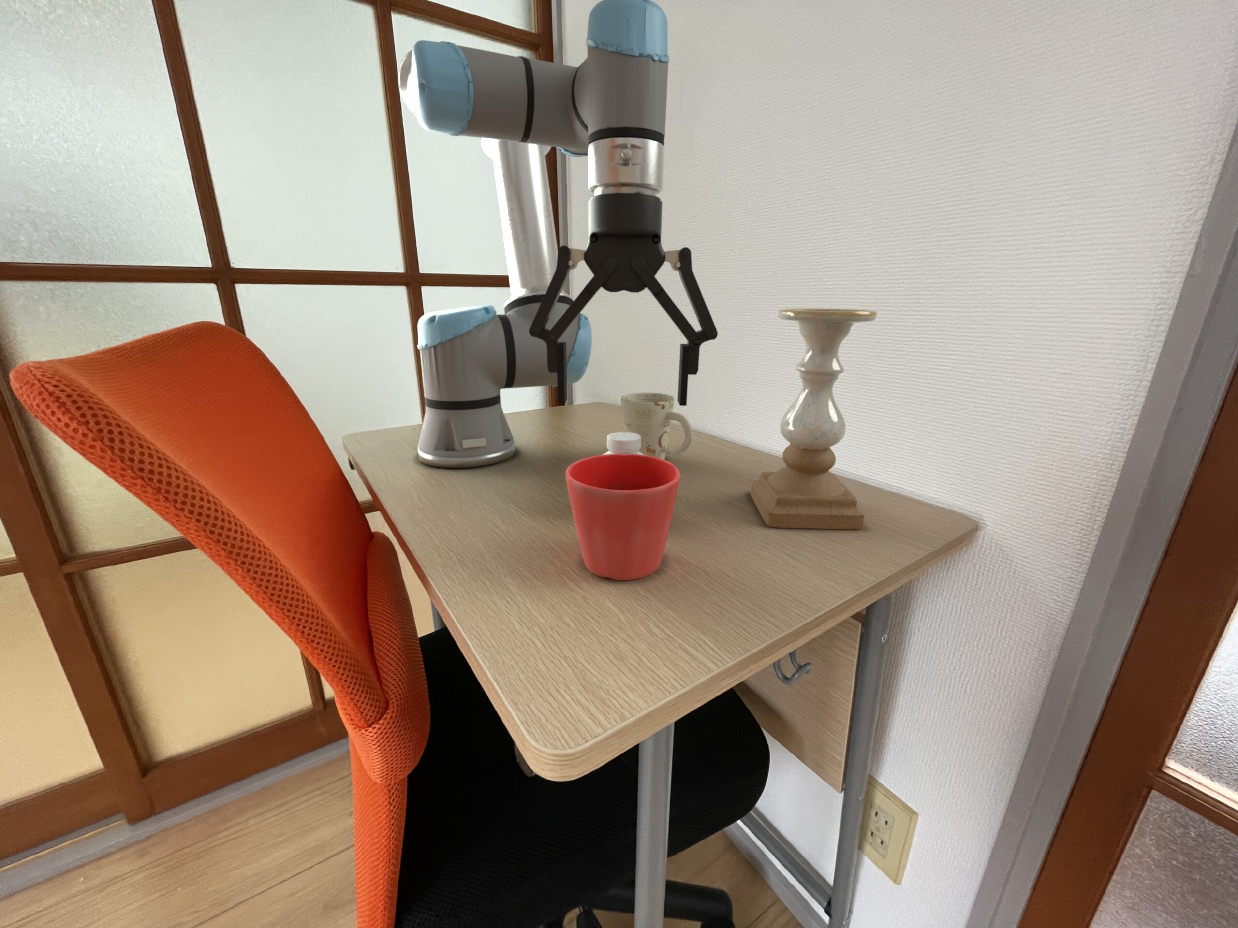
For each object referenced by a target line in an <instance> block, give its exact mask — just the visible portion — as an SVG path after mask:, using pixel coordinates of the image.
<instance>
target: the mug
mask: <svg viewBox="0 0 1238 928" xmlns="http://www.w3.org/2000/svg"><path fill="white" fill-rule="evenodd" d="M620 403H621V404H620V405H621V413H622V421H623V422H622V423H623V428H624V429H623V430H624V431H623V432H631V433H636V434H639V435H640V436H641V448H640V449H639V452H641V453H642V454H643V455H646V456H652V457H657V458H660V459H663V460H666V455H669V456H670V455H671V456H678V455H681V454H684V453H685V452H686V451H687V450H689V448H690V447H691V444H692V443H693V438H694V437H693V436H694V433H693V428H692V425H691V423H690V421H689V420H688V418H687V417H686V415H684V414H682V413H680V412H675V411H674V405H675V397H674V396H672V395H670V394H665V393H659V392H633V393H626V394H623V395H622V396H621V397H620ZM672 421H676V422H678V423H679V424H680V425H681V426H682V429H683V431H684V439H683V442H682V444H681V445H680V446H679V447H678V448H676V449H674V448H673V449H672V448H669V447H667V446H668V442H669V436H670V430H671V424H672Z"/></svg>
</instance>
